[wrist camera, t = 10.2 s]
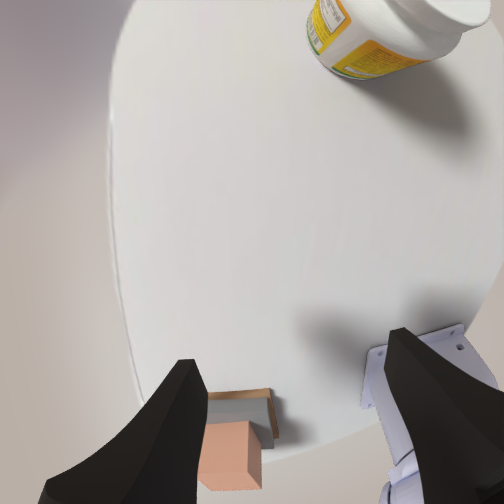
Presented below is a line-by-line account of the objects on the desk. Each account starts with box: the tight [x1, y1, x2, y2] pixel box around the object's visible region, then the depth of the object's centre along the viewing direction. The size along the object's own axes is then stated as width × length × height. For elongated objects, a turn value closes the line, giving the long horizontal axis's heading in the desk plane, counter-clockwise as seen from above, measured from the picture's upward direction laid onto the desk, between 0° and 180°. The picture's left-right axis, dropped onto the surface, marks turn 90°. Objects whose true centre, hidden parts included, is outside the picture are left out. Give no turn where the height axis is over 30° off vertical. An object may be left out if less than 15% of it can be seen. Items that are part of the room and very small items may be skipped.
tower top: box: [206, 397, 274, 449], centre depth 23 cm, size 7×7×2 cm
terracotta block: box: [197, 421, 262, 491], centre depth 20 cm, size 4×4×5 cm
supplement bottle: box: [306, 0, 491, 80], centre depth 8 cm, size 5×5×10 cm
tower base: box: [208, 388, 279, 438], centre depth 24 cm, size 8×8×2 cm
